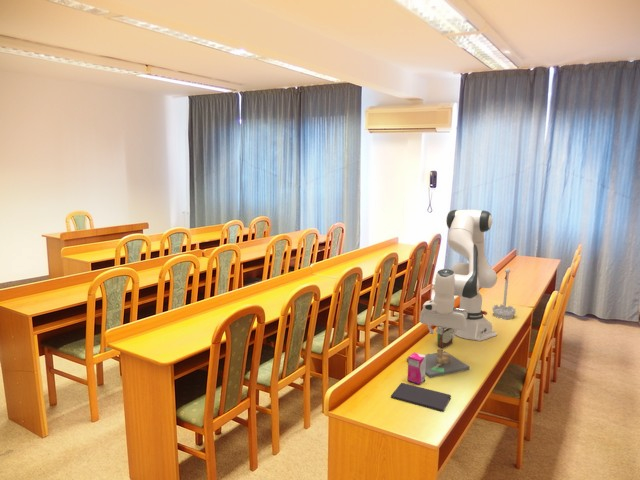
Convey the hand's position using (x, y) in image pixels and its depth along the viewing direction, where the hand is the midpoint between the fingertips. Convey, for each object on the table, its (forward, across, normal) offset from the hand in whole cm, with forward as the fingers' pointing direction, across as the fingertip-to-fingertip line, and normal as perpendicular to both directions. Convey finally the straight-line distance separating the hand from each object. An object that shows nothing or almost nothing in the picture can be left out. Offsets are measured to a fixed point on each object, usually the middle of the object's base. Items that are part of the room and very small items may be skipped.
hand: (442, 335), depth 215 cm
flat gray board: (+17, +2, -4) cm, 17 cm away
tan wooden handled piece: (+15, 0, -2) cm, 15 cm away
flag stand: (+18, -17, -92) cm, 95 cm away
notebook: (+17, +1, +28) cm, 33 cm away
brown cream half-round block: (+17, +6, -30) cm, 35 cm away
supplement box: (+17, +7, +15) cm, 24 cm away
